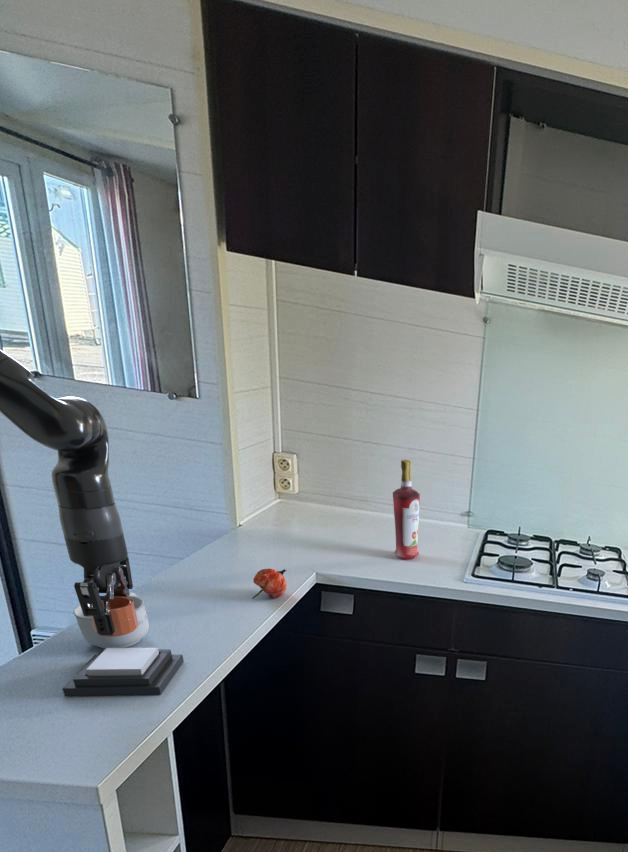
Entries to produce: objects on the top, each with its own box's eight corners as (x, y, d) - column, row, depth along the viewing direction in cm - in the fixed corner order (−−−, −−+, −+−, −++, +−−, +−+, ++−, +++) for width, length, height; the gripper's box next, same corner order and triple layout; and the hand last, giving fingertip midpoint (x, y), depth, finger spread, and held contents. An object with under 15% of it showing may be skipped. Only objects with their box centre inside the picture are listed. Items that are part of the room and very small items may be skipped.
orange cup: (87, 637, 104) (80, 610, 102) (103, 621, 109) (97, 595, 107) (130, 637, 105) (124, 611, 103) (144, 622, 111) (139, 596, 109)
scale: (64, 696, 104) (60, 681, 103) (96, 662, 115) (93, 647, 113) (160, 695, 108) (157, 680, 107) (183, 661, 118) (181, 647, 117)
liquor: (407, 551, 189) (406, 457, 176) (424, 557, 186) (425, 462, 174) (388, 556, 183) (386, 459, 171) (406, 563, 180) (405, 464, 168)
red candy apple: (264, 613, 145) (299, 586, 147) (239, 590, 141) (275, 562, 143) (263, 604, 151) (296, 577, 153) (238, 582, 147) (273, 555, 149)
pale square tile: (87, 677, 106) (85, 669, 105) (108, 655, 113) (106, 647, 112) (142, 676, 108) (140, 669, 107) (159, 655, 115) (157, 647, 114)
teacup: (126, 658, 117) (117, 619, 114) (67, 651, 117) (57, 612, 113) (174, 627, 130) (167, 592, 126) (121, 621, 129) (112, 585, 126)
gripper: (86, 517, 105) (108, 608, 112) (41, 544, 92) (69, 644, 100) (138, 519, 107) (156, 608, 114) (101, 546, 94) (123, 644, 102)
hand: (115, 625), depth 107 cm, fingers closed on orange cup, 6 cm apart
